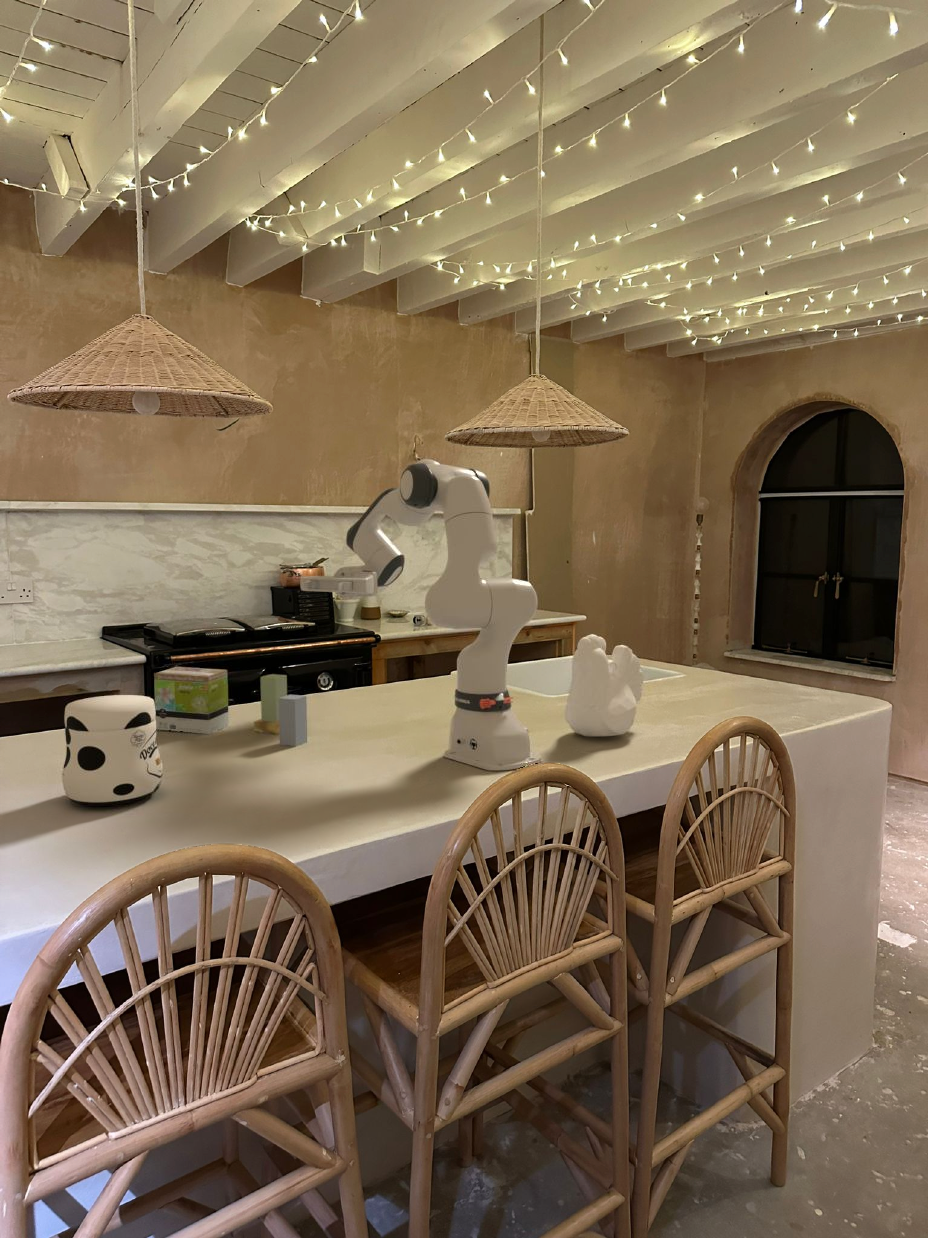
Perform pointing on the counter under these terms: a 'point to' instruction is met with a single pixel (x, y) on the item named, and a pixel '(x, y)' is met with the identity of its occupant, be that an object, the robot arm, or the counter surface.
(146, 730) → the spotted treat jar
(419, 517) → the robot arm
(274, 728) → the ochre slab
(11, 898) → the counter surface
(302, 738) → the slate block
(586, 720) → the decorative rooster
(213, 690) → the tea box
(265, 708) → the green block
